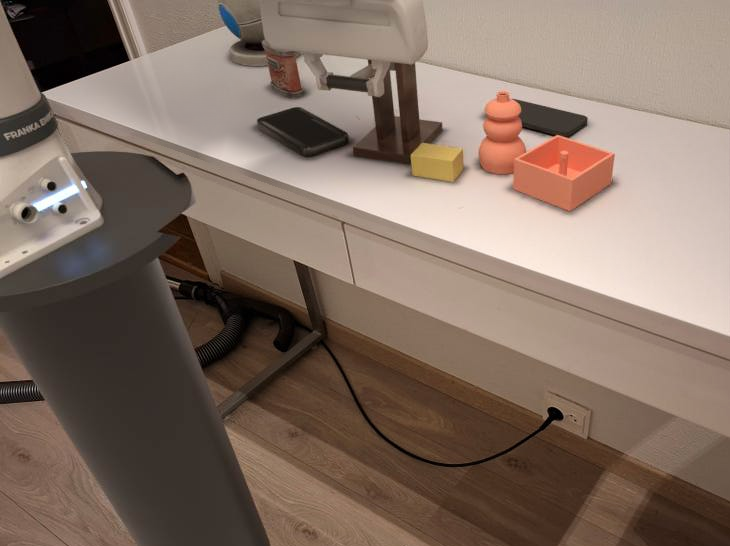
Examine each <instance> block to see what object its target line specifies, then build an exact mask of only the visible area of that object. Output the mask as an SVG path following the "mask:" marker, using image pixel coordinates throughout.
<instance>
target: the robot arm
mask: <svg viewBox="0 0 730 546" xmlns="http://www.w3.org/2000/svg"><path fill="white" fill-rule="evenodd" d="M260 8H261V19H262V26H263V33H264V37H265V40H266V41H267V43H268V44H269V45H270V46H271V48H273V49H279V50H288V51H297V52H300V53H302V54H303V60H304V61H303V62H305V64H306V65H307V67H308V68H309V70H310V71H311V73H312V74H313V76H314V77H315V80H316V85H317V87H316V88H317V89H318V90H320V91H329V92H330V91H332V89H334V88H329V87H328V85H327V77H328V75H330V74H332V75H334V72H332V71H328V70H327V68H326V66H325V65H324V63H323V61H322V59H321V58H322V57H323V56H333V57H340V58H341V57H343V58H351V59H359V60H367V61H368V60H371V62H372V68H373V69H377V71H376V73H375V76H374V77H372V78H371V79H370V78H369V79H370V80H368V81H367V82H366V86H367V89H368V91H367V92H366V94H367V96H368V97H372V96H374V97H381V96H382V95H383V94H384V82H383V79H384V77H385V75H386V73H387V71H388V69H389V66H390V62H394V63H403V64H414V63H415V64H416V63H417V62H418V61H419V60H421V59H422V58H423V57H424V55H425V54H426V53H427V50H428V47H429V36H428V26H427V19H426V13H425V8H424V3H423V0H260ZM17 40H18V39H16V36H15V34H14V31H13V29H12V26H11V24H10V22H9V20H8V18H7V14H6V12H5V10H4V7H3V5H2V1H0V278H3V277H4V276H6V275H8V274H10V273H12V272H14V271H16V270H18V269H20V268H22V267H24V266H26V265H27V264H29V263H31V262H33V261H35V260H37V259H39V258H41V257H43V256H45V255H47V254H48V253H50V252H52V251H54V250H56V249H58V248H60V247H62V246H64V245H66V244H67V243H69V242H71V241H73V240H75V239H77V238H79V237H81V236H83V235H85V234H87V233H88V232H90V231H92V230H94V229H96V228H98V227H100V226H101V225H103V224H104V218H103V216H102V215H101V213H100V211H101V207H102V203H103V201H102V197H101V196H100V195H99V193H98V192H97V191H96V190H95V189H94V188H93V186H92V185H91V184H90V183H89V181H88V180H87V179H86V177H85V176H84V174H83V173H82V171H81V170H80V168H79V167H78V165H77V164H76V162H75V161H74V159H73V157H72V156H71V154H70V153H71V152H70V150H69V149H68V147H67V145H66V143H65V141H64V139H63V138H62V136H61V133H60V132H59V122H58V120H57V117H56V116H55V113H54V110H53V109H52V107H51V105H50V102H49V101H48V98H47V96H46V95H45V94H44V93H43V92H42V91H40V89H39V88H38V86H37V83H36V81H35V79H34V76H33V74H32V72H31V70H30V68H29V65H28V63H27V61H26V58H25V56H24V54H23V52H22V50H21V48H20V45H19V42H18V41H17Z"/></svg>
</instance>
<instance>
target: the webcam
mask: <svg viewBox="0 0 730 546" xmlns="http://www.w3.org/2000/svg"><path fill="white" fill-rule="evenodd" d="M217 6H218V11H219V15H220V17H221V20H222V22H223V24H224V25H225V26H226V28H227V30H229V31H230V33H231V34H232V35H233V36H235V37H236V38H237V39H238V41H236V42H234V43H233V44H232V45H231V46H230V48H229V53H230V58H231V60H232V61H233V62H234V63H235V64H238V65H243V66H248V67H249V66H252V67H253V66H254V67H257V66H258V67H263V66H268V63H267V59H266V54H265V49H264V48H263V46H262V41H263V40H265V37H264V33H263V26H262V19H261V8H260V0H217ZM300 53H301V52H297V51H296V54H295V56H296V58H297V57H299V56H300Z"/></svg>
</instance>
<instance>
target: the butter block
mask: <svg viewBox="0 0 730 546" xmlns="http://www.w3.org/2000/svg"><path fill="white" fill-rule="evenodd" d="M410 165H411V173H412V174H411V175H412V176H413V177H419V178H426V179H432V180H437V181H445V182H449V183H454V182H455V181H456V180H457V178H458V177H459V176H460V174H461V173H462V172H463V170H464V169H465V168H464V148H461V147H455V146H449V145H448V146H447V145H441V144H435V143H434V144H433V143H430V144H428V143H422V144H421V145H420V146H419V147H418V148H417V149H416V150H415V151H414V152H413V153H412V154H411V164H410Z"/></svg>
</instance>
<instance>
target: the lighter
mask: <svg viewBox="0 0 730 546" xmlns="http://www.w3.org/2000/svg"><path fill="white" fill-rule="evenodd" d="M262 46H263V48H264V49H265V54H266V59H267V63H268V65H267V68H268V72H269V76H270V86H271V89H272V90H273V91H274V92H275V93H278V94H279V95H282V96H284V97H287V98H290V99H298V98H301V97H304V95H305V93H304V88H303V87H302V83H301V78H300V72H299V67H298V63H297V57H296V56H295V54H296V51H288V50H279V49H273V48H271V46H270V45H269V44H268V43H267V41H266V40H263V41H262Z"/></svg>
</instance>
